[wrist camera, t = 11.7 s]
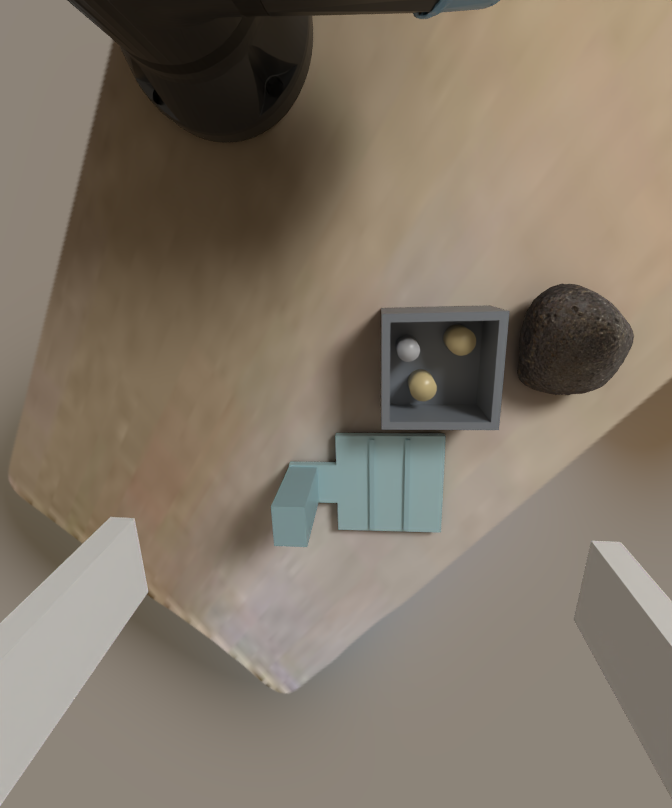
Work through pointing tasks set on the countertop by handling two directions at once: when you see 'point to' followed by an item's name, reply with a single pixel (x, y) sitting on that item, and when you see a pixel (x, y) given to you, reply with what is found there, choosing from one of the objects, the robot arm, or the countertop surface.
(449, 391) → the tub
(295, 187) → the countertop surface
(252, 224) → the countertop surface
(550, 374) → the stone
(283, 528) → the pale blue ridged block
